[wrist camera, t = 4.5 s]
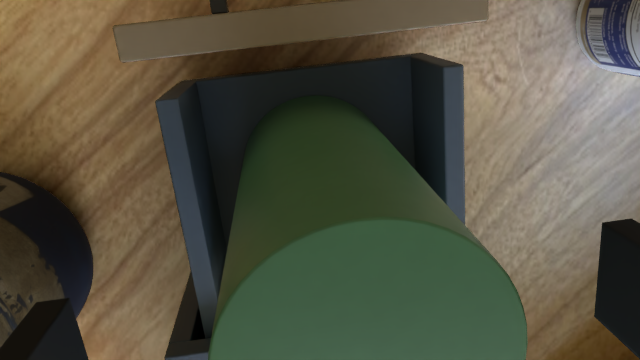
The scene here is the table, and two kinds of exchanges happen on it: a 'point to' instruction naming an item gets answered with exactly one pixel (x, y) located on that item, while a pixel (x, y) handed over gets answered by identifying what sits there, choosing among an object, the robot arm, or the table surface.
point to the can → (353, 253)
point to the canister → (38, 252)
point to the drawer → (286, 84)
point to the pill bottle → (610, 34)
